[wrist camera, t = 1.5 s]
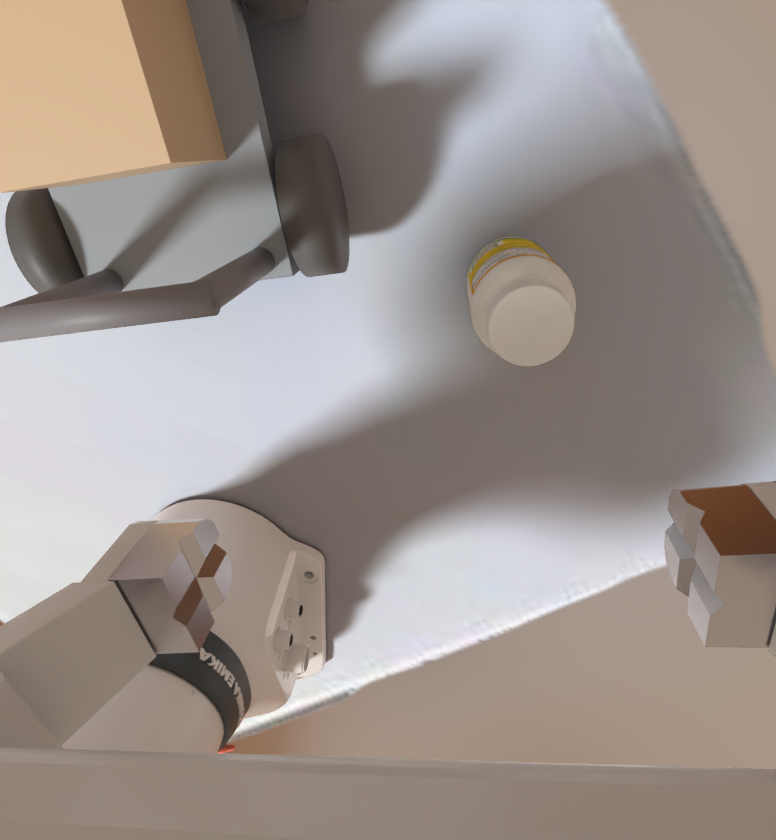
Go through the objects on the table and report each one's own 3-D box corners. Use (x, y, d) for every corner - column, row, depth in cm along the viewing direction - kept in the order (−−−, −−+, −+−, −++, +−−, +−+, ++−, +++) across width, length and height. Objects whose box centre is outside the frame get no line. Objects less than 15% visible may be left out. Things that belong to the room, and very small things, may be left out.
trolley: (354, 259, 33) (299, 329, 20) (113, 292, 35) (-69, 372, 23) (284, -153, 24) (113, -477, 12) (-28, -71, 27) (-444, -263, 14)
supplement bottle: (471, 231, 31) (482, 262, 23) (560, 238, 31) (604, 272, 23) (460, 317, 34) (466, 374, 26) (542, 324, 34) (575, 384, 25)
